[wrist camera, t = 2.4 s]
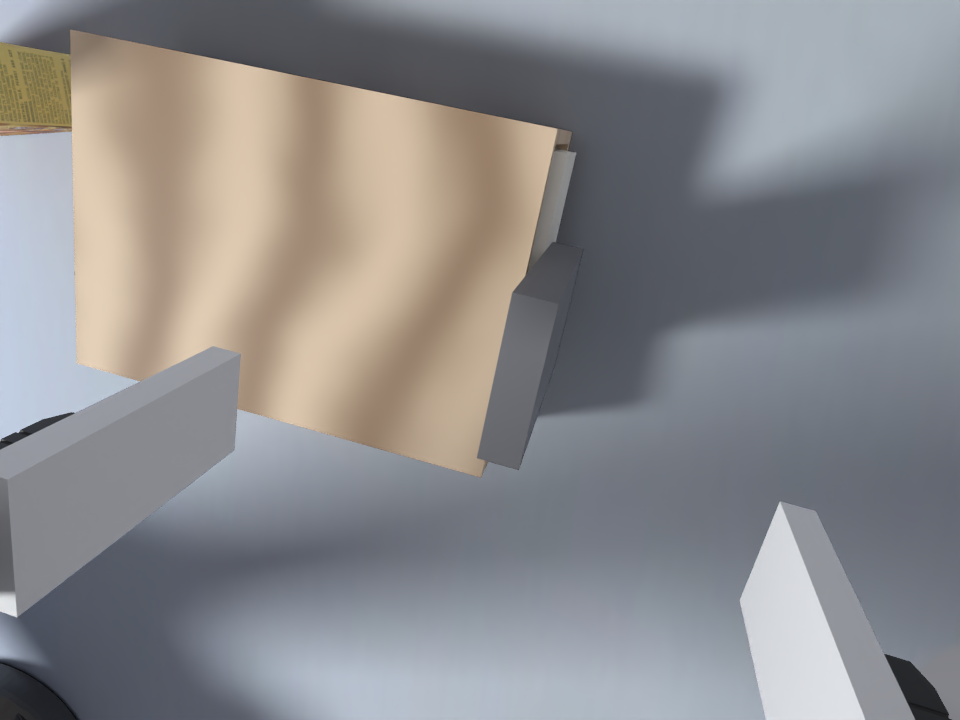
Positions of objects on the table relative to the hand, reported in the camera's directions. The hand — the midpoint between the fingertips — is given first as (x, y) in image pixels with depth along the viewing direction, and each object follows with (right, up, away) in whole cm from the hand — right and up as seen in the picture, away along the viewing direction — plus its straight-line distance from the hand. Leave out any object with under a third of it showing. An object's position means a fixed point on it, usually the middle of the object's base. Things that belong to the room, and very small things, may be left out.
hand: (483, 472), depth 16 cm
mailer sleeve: (-8, +9, +21) cm, 24 cm away
